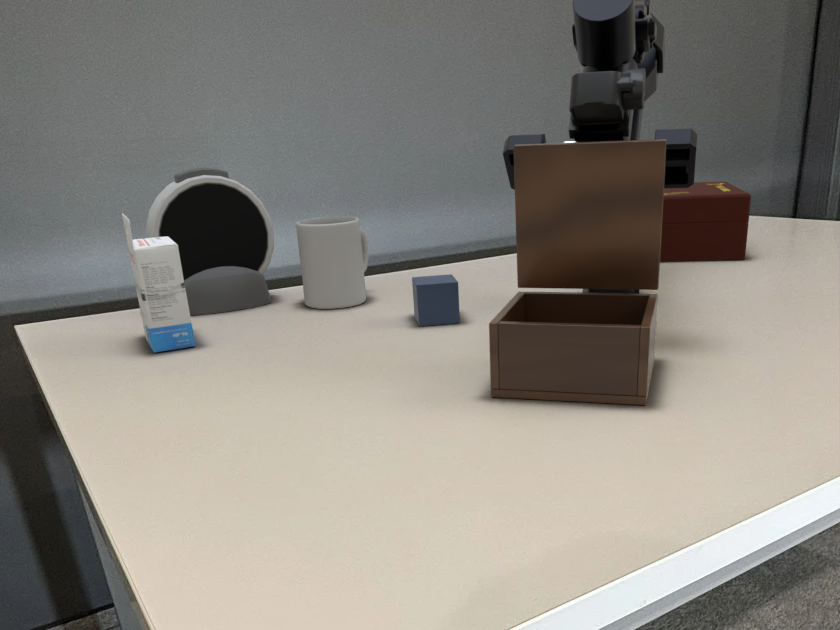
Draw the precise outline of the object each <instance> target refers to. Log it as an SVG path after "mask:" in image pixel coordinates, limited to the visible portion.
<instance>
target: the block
mask: <svg viewBox="0 0 840 630" xmlns="http://www.w3.org/2000/svg"><path fill="white" fill-rule="evenodd" d="M411 283H412V284H411V285H412V286H411V287H412V299H413V314H414V318H415V321H416V323H417V325H418V327H429V326H442V325H453V324H455V325H456V324H460V323H461V318H460V317H461V315H460V292H459V291H460V290H459V281H458V280H457V279H456V278H455V276H454V275H453V274H452V273H449V274H437V275H424V276H423V275H422V276H412V277H411Z"/></svg>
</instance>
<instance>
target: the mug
mask: <svg viewBox="0 0 840 630" xmlns="http://www.w3.org/2000/svg"><path fill="white" fill-rule="evenodd" d="M295 229H296V236H297V246H298V254H299V263H300V271H301V280H302V289H303V300H304V304H305V306H307V307H308V308H311V309H319V310H334V309H346V308H351V307H355V306H358V305H361V304H363V303H365V302H366V300H367V288H366V287H367V286H366V279H365V272H366V271H367V269H368V265H369V244H368V239H367V235H366V232H365V230H363V228H361V224H360V219H359V218H358V217H356V216H346V215H345V216H342V215H338V216H336V215H335V216H320V217H313V218H312V217H311V218H305V219H301V220H298V221H296V223H295Z"/></svg>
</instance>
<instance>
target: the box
mask: <svg viewBox="0 0 840 630" xmlns="http://www.w3.org/2000/svg"><path fill="white" fill-rule="evenodd" d="M751 203H752V195H751V194H750V193H749V192H747V191H745V190H743V189H741V188H739V187H738V186H736V185H734V184H731V183H730V182H728V181H725V180H723V181H698V182H695V181H694V184H693V185H692V186H690V187H689V188H664V198H663V216H662V234H661V252H660V263H661V262H664V263H665V262H702V261H703V262H705V261H744V260H746V253H747V241H748V232H749V222H750V214H751Z"/></svg>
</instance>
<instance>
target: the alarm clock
mask: <svg viewBox="0 0 840 630" xmlns="http://www.w3.org/2000/svg"><path fill="white" fill-rule="evenodd" d="M229 176H230V175H229V172H228V171H227V170H223V169H219V168H213V167H206V166H205V167H203V166H202V167H201V166H197V167H192V168H191V167H190V168H188V169H184V170H181V171H179V172H177V173H175V174H174V175H173V179H174V181H173V182H171V183H168V185H166V187H164V188H163V189H162V190H161V191H160V193H158V194H157V196H156V197H155V199H154V201H153V203H152V205H151V206H150V208H149V211H148V216H147V219H146V220H147V221H146V225H145V228H146V238H154V237H166V236H168V237H169V238H170V239H171V240H173V241H174V242H175V243H176V244H177V245H178V249H179V255H180V261H181V267H182V273H183V278H184V284H185V290H186V295H187V301H188V306H189V312H190V316H201V315H211V314H219V313H227V312H234V311H239V310H245V309H246V310H247V309H252V308H255V307H259V306H260V307H261V306H264V305H268V304H271V303H272V298H271V293H270V290H269V287H268V284H267V281H266V277H265V276H264V274H265V273H266V271H267V269H268V267H269V266H270V263H271V261H272V257H273V253H274V249H275V232H274V227H273V224H272V219H271V216H270V214H269V213H268V211H267V209H266V207H265V205H264V203H263V202H262V201H261V200H260V199H259V197H258V196H256V194H255V193H254V192H253V191H252V190H251V189H249V188H248V187H247V186H245V185H243V184H242V183H240V182H238V181H237V180H234V179H231V178H230V177H229Z"/></svg>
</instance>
